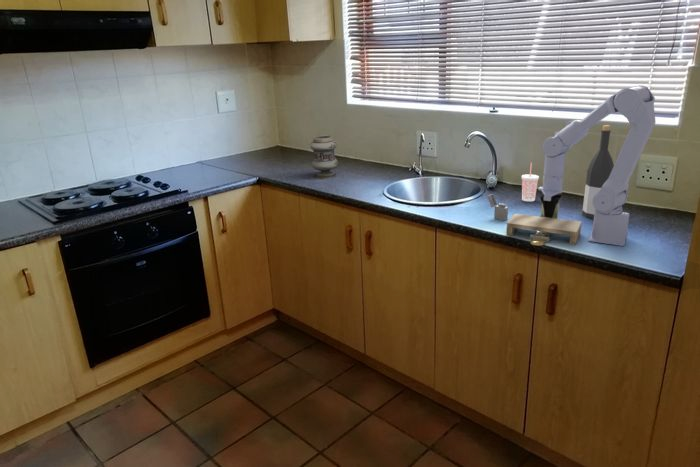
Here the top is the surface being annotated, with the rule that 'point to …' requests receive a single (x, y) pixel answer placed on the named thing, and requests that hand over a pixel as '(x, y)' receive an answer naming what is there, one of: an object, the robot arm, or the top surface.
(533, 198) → the beverage cup
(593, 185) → the wine bottle
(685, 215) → the top surface
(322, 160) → the apothecary jar
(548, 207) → the robot arm
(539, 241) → the brass token
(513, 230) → the oak shelf
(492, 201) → the lighter
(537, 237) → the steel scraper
